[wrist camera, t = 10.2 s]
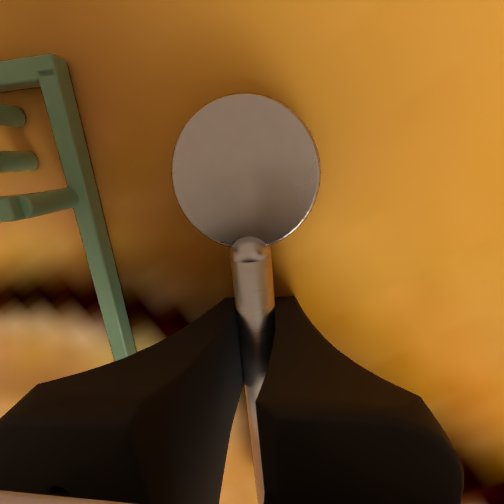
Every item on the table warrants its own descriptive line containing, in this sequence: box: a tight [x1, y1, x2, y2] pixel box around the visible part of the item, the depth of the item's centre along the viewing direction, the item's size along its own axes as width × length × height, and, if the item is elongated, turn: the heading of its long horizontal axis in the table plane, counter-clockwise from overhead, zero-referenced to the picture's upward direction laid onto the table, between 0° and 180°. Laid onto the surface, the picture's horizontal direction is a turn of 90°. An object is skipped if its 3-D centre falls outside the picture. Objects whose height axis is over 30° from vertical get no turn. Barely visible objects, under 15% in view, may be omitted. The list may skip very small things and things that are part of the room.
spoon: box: [171, 93, 321, 504], centre depth 9 cm, size 15×4×1 cm, turn 5°
